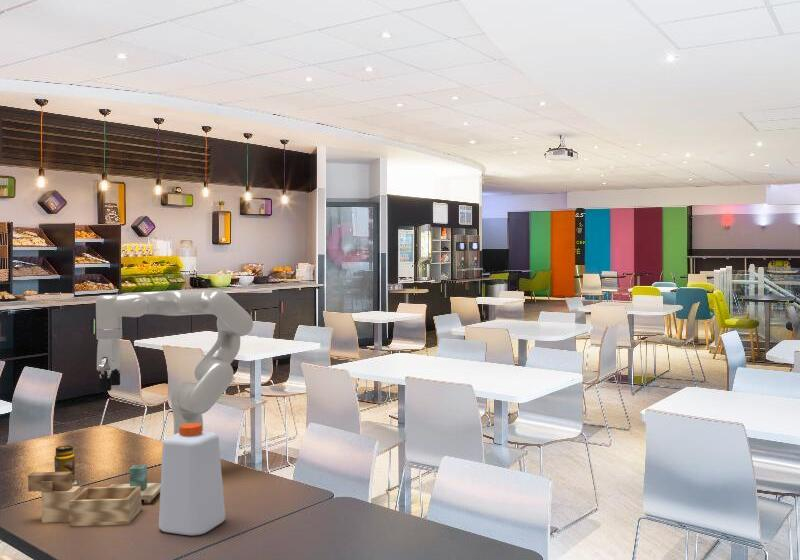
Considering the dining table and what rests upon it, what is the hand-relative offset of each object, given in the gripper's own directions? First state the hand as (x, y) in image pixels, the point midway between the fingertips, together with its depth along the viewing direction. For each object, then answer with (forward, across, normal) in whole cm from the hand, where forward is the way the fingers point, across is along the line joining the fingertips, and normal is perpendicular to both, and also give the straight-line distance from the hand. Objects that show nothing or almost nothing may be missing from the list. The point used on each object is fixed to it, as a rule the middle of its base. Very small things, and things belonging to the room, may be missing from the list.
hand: (110, 387), depth 234 cm
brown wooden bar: (+24, +24, -10) cm, 36 cm away
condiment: (+33, -10, -19) cm, 40 cm away
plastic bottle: (+33, +34, +31) cm, 57 cm away
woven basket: (+33, +25, +1) cm, 41 cm away
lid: (+33, +9, +8) cm, 35 cm away
